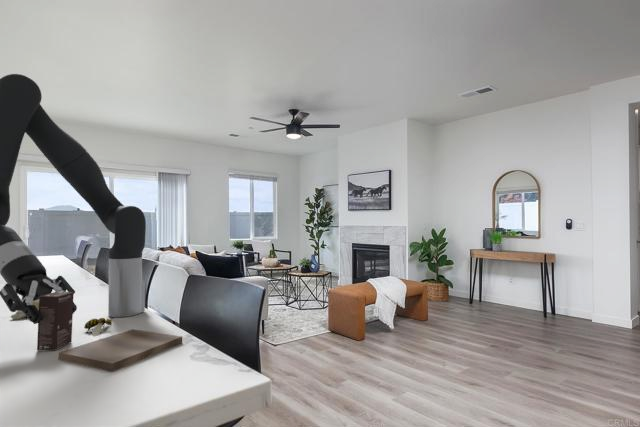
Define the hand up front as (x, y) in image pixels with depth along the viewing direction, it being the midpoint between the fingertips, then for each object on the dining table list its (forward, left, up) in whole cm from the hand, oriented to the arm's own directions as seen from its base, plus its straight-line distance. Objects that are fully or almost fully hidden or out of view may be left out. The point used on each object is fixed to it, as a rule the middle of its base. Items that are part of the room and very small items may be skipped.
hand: (57, 316), depth 86 cm
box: (0, 0, -7) cm, 7 cm away
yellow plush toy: (-18, -37, -7) cm, 42 cm away
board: (-4, +17, -7) cm, 18 cm away
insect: (-13, -3, -7) cm, 15 cm away
